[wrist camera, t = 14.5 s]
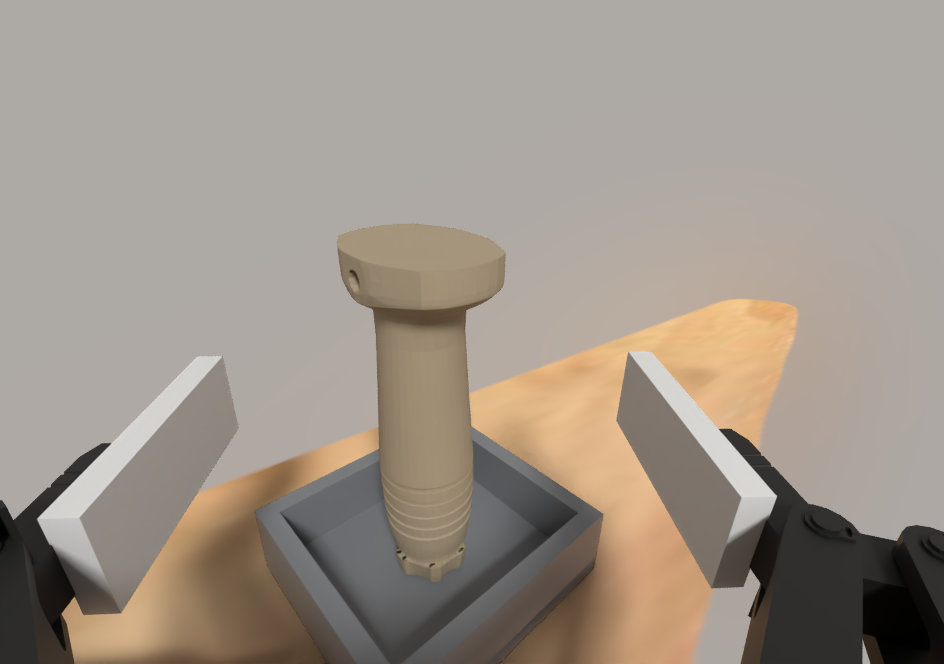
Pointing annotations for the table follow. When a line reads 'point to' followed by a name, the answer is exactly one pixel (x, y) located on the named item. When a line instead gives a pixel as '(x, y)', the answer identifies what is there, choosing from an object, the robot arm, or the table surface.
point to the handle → (423, 377)
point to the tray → (414, 597)
